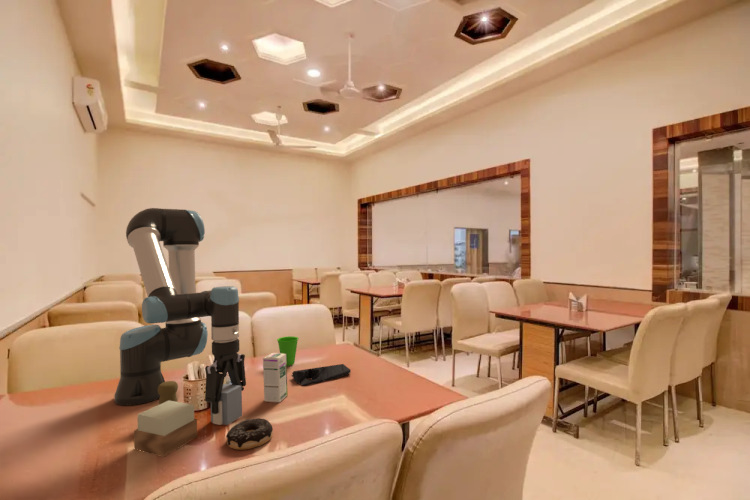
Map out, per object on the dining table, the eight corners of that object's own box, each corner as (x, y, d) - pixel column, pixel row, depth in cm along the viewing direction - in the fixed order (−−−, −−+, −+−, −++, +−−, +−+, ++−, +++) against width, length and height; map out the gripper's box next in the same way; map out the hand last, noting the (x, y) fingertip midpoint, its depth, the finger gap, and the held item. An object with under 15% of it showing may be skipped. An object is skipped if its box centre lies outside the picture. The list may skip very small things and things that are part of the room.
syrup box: (280, 402, 120) (279, 357, 120) (263, 401, 121) (262, 357, 121) (287, 395, 125) (287, 352, 125) (271, 394, 126) (271, 352, 126)
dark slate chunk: (355, 377, 143) (355, 365, 143) (299, 388, 133) (299, 375, 133) (340, 367, 157) (340, 355, 157) (288, 375, 147) (288, 363, 147)
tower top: (137, 430, 93) (137, 414, 93) (169, 415, 101) (168, 400, 101) (164, 436, 90) (163, 419, 90) (194, 419, 98) (194, 404, 98)
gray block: (210, 422, 107) (210, 390, 107) (226, 413, 113) (225, 383, 113) (227, 425, 105) (227, 393, 105) (242, 416, 111) (241, 385, 110)
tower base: (134, 450, 93) (134, 430, 93) (169, 431, 102) (168, 413, 102) (164, 457, 89) (163, 437, 89) (197, 437, 99) (196, 419, 99)
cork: (174, 413, 113) (174, 377, 113) (183, 418, 109) (183, 381, 109) (153, 420, 108) (152, 383, 108) (161, 426, 104) (160, 387, 104)
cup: (276, 362, 163) (276, 337, 163) (297, 360, 165) (297, 335, 165) (277, 368, 154) (277, 342, 154) (300, 366, 157) (299, 340, 157)
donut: (281, 438, 97) (281, 423, 97) (239, 458, 88) (238, 441, 88) (258, 425, 105) (258, 411, 105) (217, 442, 96) (217, 427, 96)
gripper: (210, 349, 98) (211, 436, 98) (257, 333, 117) (259, 406, 117) (188, 347, 101) (190, 431, 101) (238, 331, 119) (239, 403, 119)
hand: (227, 417), depth 109 cm, fingers open, 7 cm apart
